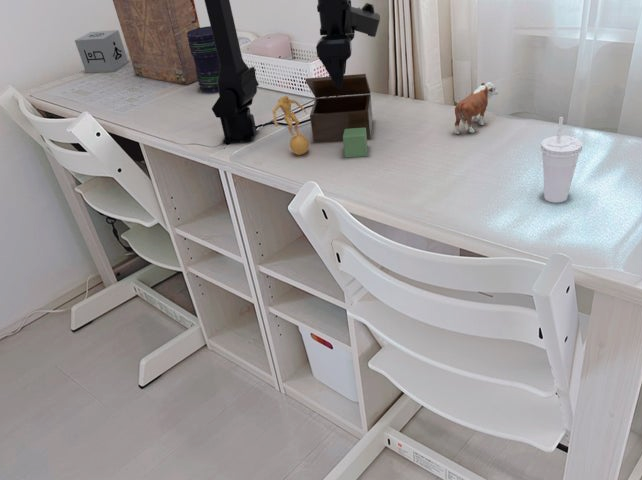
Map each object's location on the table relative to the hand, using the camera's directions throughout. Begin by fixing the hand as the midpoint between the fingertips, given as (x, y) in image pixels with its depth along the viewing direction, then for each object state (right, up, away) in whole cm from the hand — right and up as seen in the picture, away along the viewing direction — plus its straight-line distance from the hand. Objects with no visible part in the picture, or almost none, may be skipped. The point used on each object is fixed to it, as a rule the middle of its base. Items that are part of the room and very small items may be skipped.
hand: (341, 81), depth 122 cm
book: (-52, +24, +62) cm, 85 cm away
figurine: (-9, -13, +6) cm, 17 cm away
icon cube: (-78, +32, +77) cm, 115 cm away
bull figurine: (+28, -7, +8) cm, 30 cm away
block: (+3, -14, +3) cm, 14 cm away
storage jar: (-35, +15, +48) cm, 62 cm away
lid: (-1, +1, +8) cm, 8 cm away
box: (0, -7, +13) cm, 15 cm away
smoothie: (+37, -27, -19) cm, 49 cm away
